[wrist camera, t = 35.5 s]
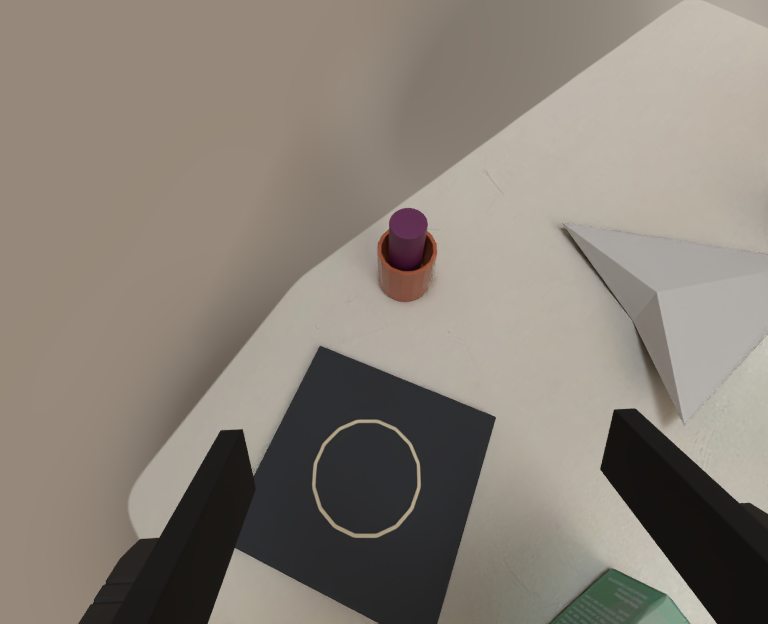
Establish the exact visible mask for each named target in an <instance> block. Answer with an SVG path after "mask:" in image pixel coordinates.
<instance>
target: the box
mask: <svg viewBox="0 0 768 624" xmlns="http://www.w3.org/2000/svg"><path fill="white" fill-rule="evenodd" d="M551 624H690V623H689V621H688V620H687V619H686V617H685V616H684V615H683V614H682V612H681V611H680V610H679V608H678V607H677V606H676V604H675V603H674V602H673V600H672V599H671V598H670V597H669V596H668V595H667V594H665V593H662V592H660V591H658V590H656V589H654V588H652V587H650V586H648V585H646V584H644V583H642V582H640V581H638V580H636V579H633V578H631V577H629V576H627V575H625V574H623V573H621V572H619V571H617V570H615V569H613V568H612V569H611V570H609V571H608V572H607V573H606V574H605V575H604V576H603V577H601V578H600V579H599V580H598V581H597V582H596V583H594V584H593V585H592V586H591V587H590V588H589V589H588V590H587V591H585V592H584V593H583V594H582V595H581V596H580V597H579V598H577V599H576V600H575V601H574V602H573V603H572V604H571V605H570V606H569V607H568V608H567V609H566V610H565V611H564V612H562V613H561V614H560V615H559V616H558V617H557V618H556V619H555V620H554V621H553V622H552V623H551Z"/></svg>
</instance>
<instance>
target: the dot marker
mask: <svg viewBox="0 0 768 624" xmlns="http://www.w3.org/2000/svg"><path fill="white" fill-rule="evenodd" d="M427 226H428V223H427V219H426V217H425V216H424V214H423V213H421V212H420V211H418V210H416V209H412V208H404V209H400V210H398V211H396V212H395V213H394V214H393V215H392V217H391V218H390V222H389V265H390V266H391V267H392V268H395V269H398V270H400V271H415V270H418V269H421V263H422V256H423V250H424V244H425V238H426V232H427Z"/></svg>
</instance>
